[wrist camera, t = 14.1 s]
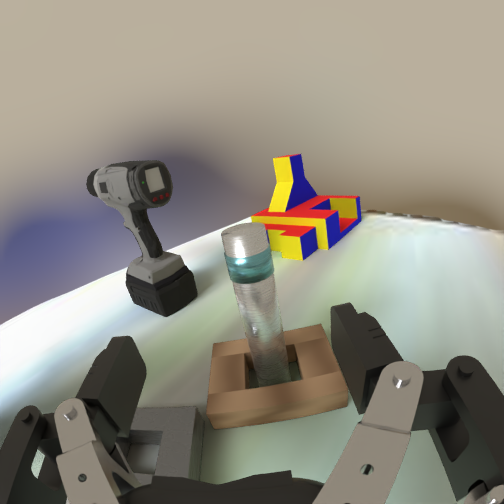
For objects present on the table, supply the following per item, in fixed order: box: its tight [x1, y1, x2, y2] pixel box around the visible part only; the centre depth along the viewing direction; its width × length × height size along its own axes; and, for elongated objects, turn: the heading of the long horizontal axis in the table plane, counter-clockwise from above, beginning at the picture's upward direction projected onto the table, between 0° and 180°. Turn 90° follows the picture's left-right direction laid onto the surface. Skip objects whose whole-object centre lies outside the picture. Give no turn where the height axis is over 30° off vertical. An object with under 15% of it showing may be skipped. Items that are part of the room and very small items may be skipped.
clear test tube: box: [221, 222, 291, 387], centre depth 24 cm, size 3×3×16 cm
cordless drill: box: [86, 160, 198, 316], centre depth 46 cm, size 8×24×25 cm, turn 54°
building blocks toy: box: [251, 154, 361, 261], centre depth 62 cm, size 19×25×18 cm
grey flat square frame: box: [116, 406, 204, 486], centre depth 18 cm, size 10×10×2 cm
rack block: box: [206, 324, 348, 429], centre depth 26 cm, size 12×10×2 cm
